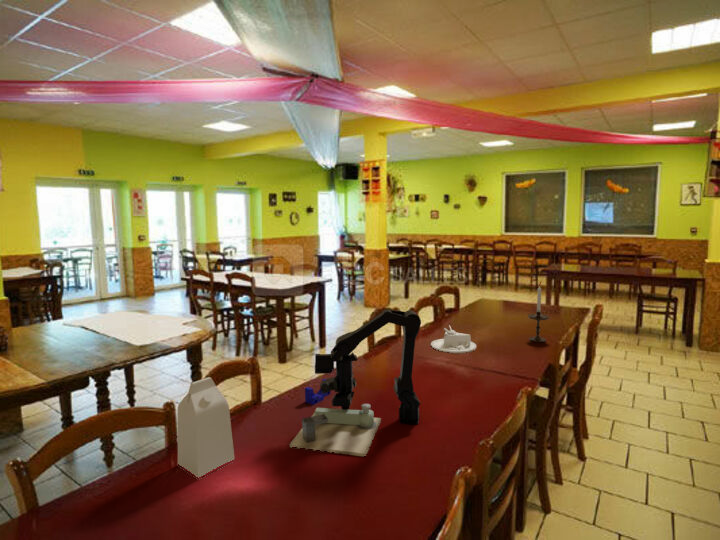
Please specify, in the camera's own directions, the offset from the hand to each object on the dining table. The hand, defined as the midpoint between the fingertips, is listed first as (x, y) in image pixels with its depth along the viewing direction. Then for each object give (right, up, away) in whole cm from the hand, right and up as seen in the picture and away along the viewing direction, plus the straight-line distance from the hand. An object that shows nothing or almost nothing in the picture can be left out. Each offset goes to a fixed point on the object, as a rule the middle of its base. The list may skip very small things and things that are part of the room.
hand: (345, 413), depth 155 cm
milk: (-41, -7, -24) cm, 48 cm away
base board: (-2, -4, -7) cm, 9 cm away
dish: (+58, +8, +88) cm, 106 cm away
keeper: (-9, -4, -12) cm, 16 cm away
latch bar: (0, -2, -3) cm, 3 cm away
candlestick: (+108, +10, +97) cm, 146 cm away
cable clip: (-11, -1, +21) cm, 24 cm away
